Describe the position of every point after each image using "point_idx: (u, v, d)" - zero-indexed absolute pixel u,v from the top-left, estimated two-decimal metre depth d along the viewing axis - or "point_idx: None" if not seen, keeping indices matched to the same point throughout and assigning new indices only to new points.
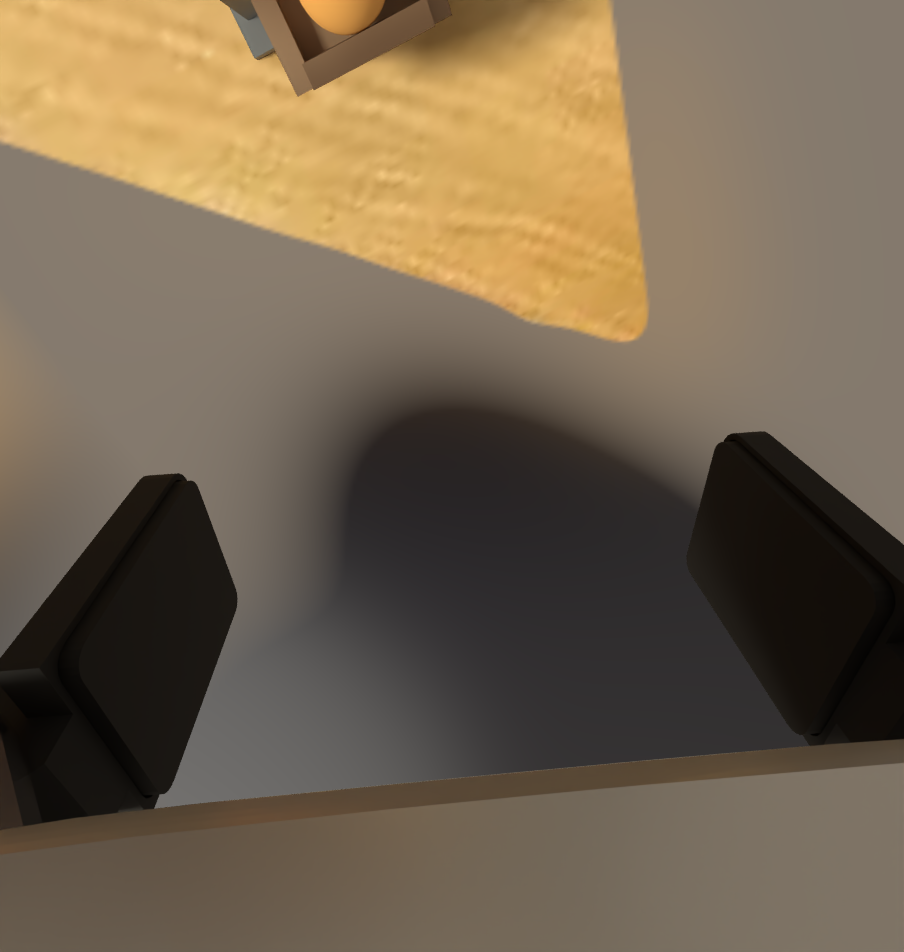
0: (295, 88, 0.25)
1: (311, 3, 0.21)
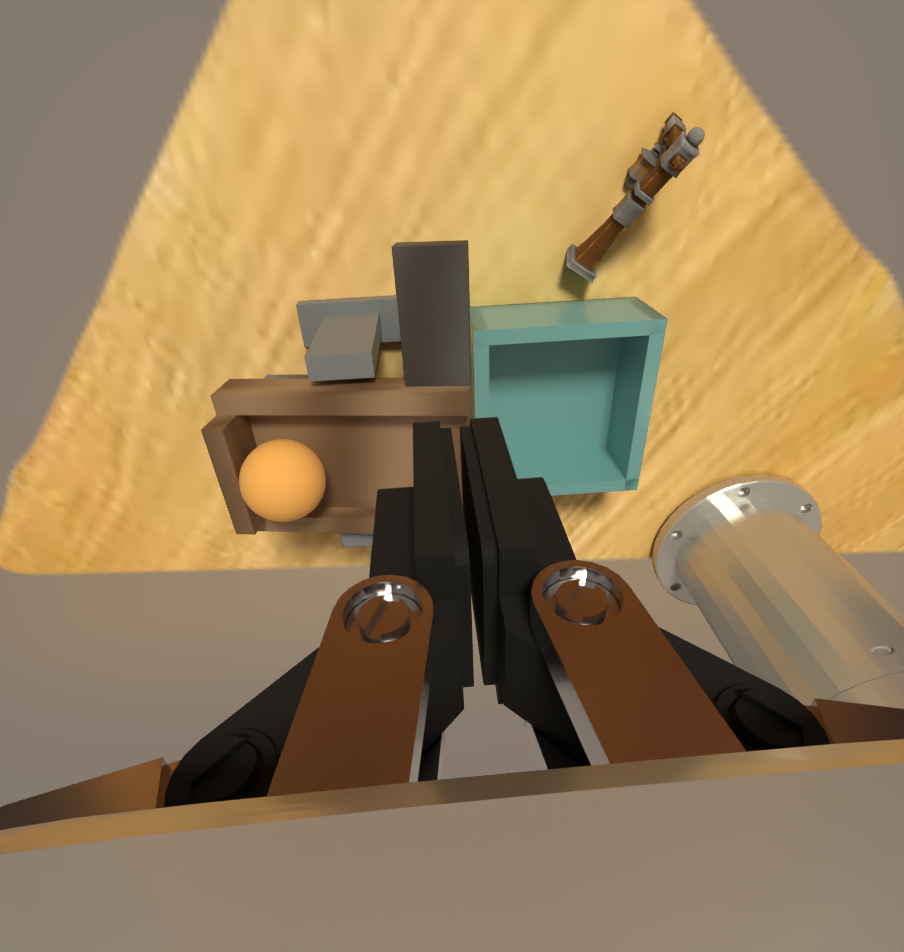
0: (217, 397, 0.24)
1: (256, 467, 0.24)
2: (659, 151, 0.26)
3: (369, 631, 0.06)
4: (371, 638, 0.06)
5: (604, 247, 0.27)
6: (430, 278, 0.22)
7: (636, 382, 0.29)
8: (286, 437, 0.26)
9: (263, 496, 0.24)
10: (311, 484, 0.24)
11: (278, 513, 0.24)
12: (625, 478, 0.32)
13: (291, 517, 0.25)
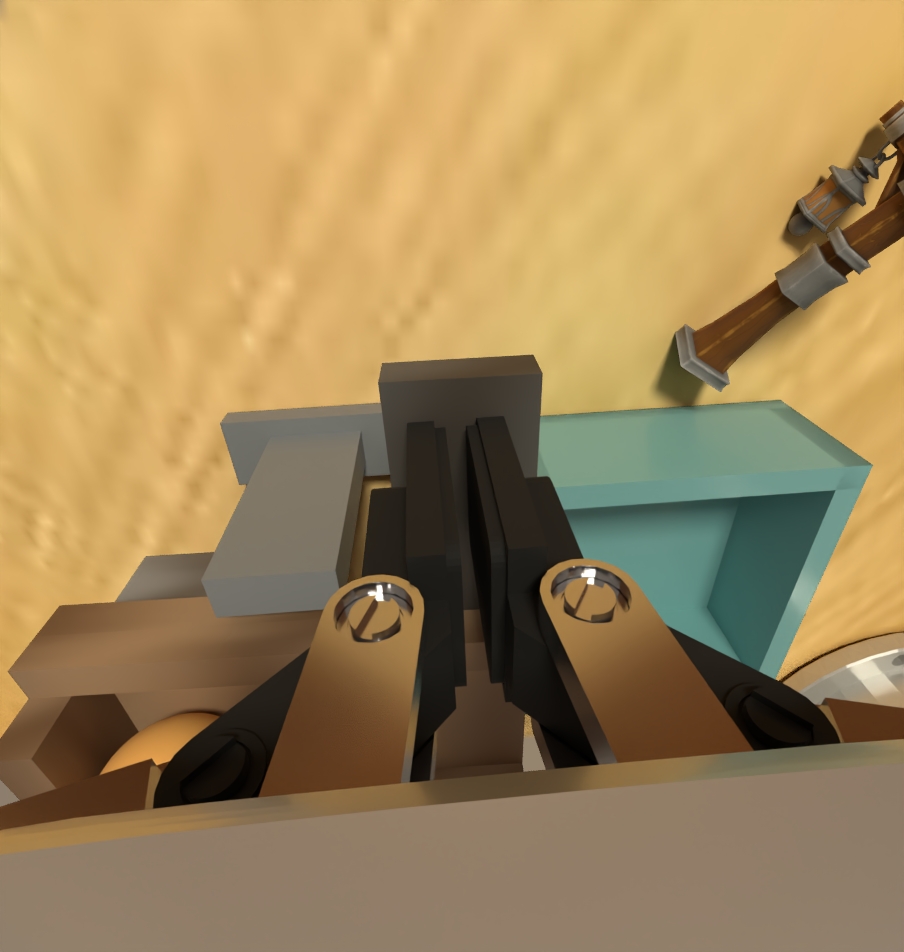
0: (22, 673, 0.12)
1: None
2: (870, 172, 0.14)
3: (360, 631, 0.06)
4: (362, 638, 0.06)
5: (752, 338, 0.16)
6: (462, 438, 0.10)
7: (791, 550, 0.18)
8: (183, 698, 0.14)
9: None
10: None
11: None
12: None
13: None
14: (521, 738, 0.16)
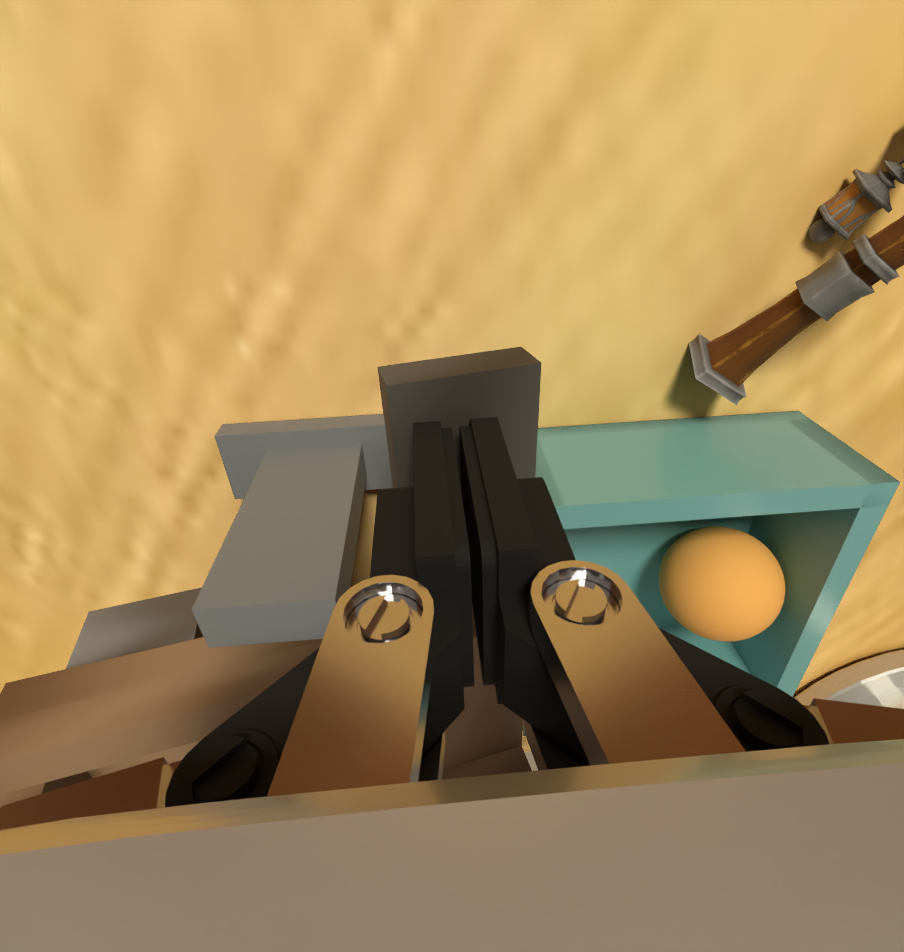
0: None
1: (753, 537, 0.18)
2: (897, 177, 0.13)
3: (370, 631, 0.06)
4: (372, 638, 0.06)
5: (770, 349, 0.15)
6: None
7: (810, 568, 0.17)
8: (170, 758, 0.13)
9: None
10: None
11: None
12: None
13: None
14: (520, 721, 0.16)
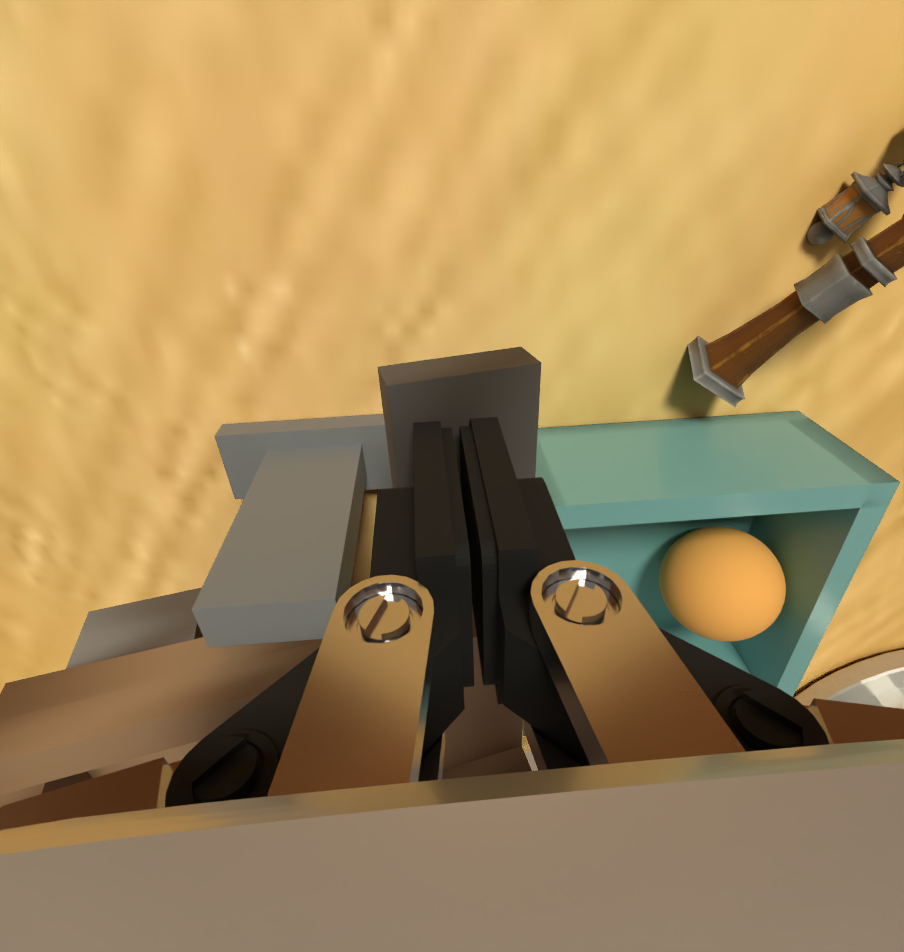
0: None
1: (753, 536, 0.18)
2: (896, 180, 0.13)
3: (370, 631, 0.06)
4: (372, 638, 0.06)
5: (769, 351, 0.15)
6: None
7: (810, 568, 0.17)
8: (170, 758, 0.13)
9: None
10: None
11: None
12: None
13: None
14: (520, 721, 0.16)
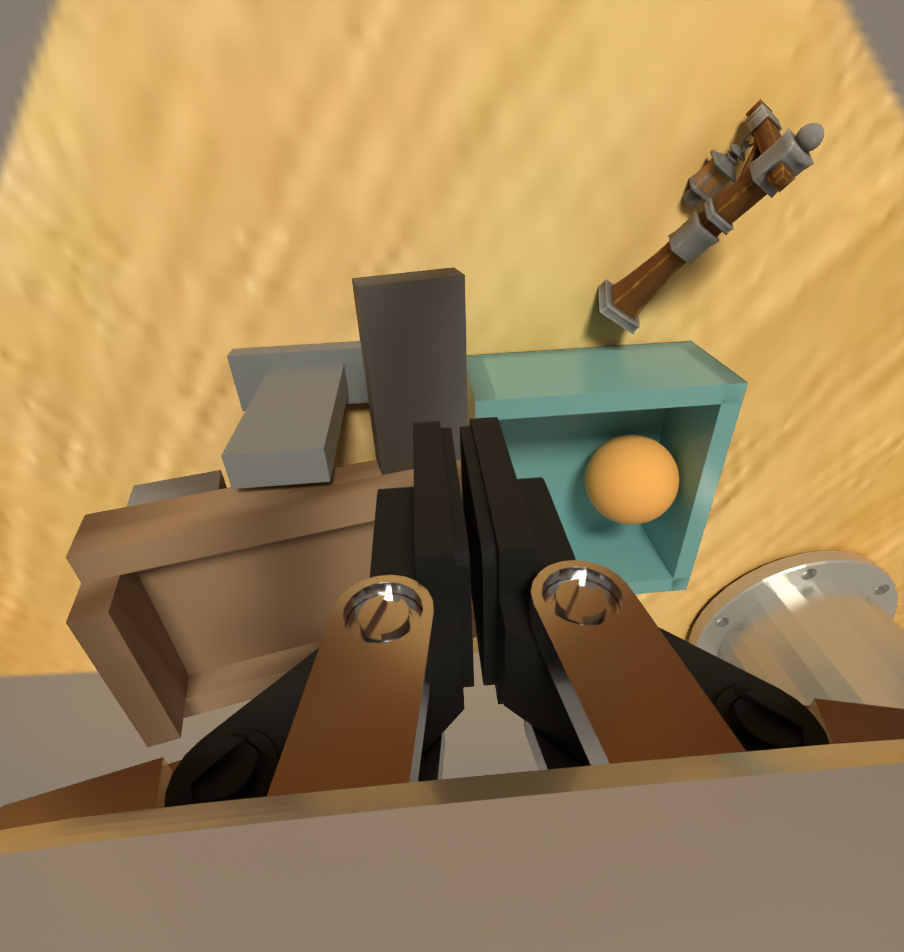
0: (79, 557, 0.15)
1: (657, 442, 0.23)
2: (738, 156, 0.18)
3: (369, 631, 0.06)
4: (371, 638, 0.06)
5: (653, 288, 0.20)
6: (415, 326, 0.15)
7: (695, 460, 0.22)
8: (202, 580, 0.17)
9: None
10: None
11: None
12: (672, 576, 0.25)
13: None
14: None
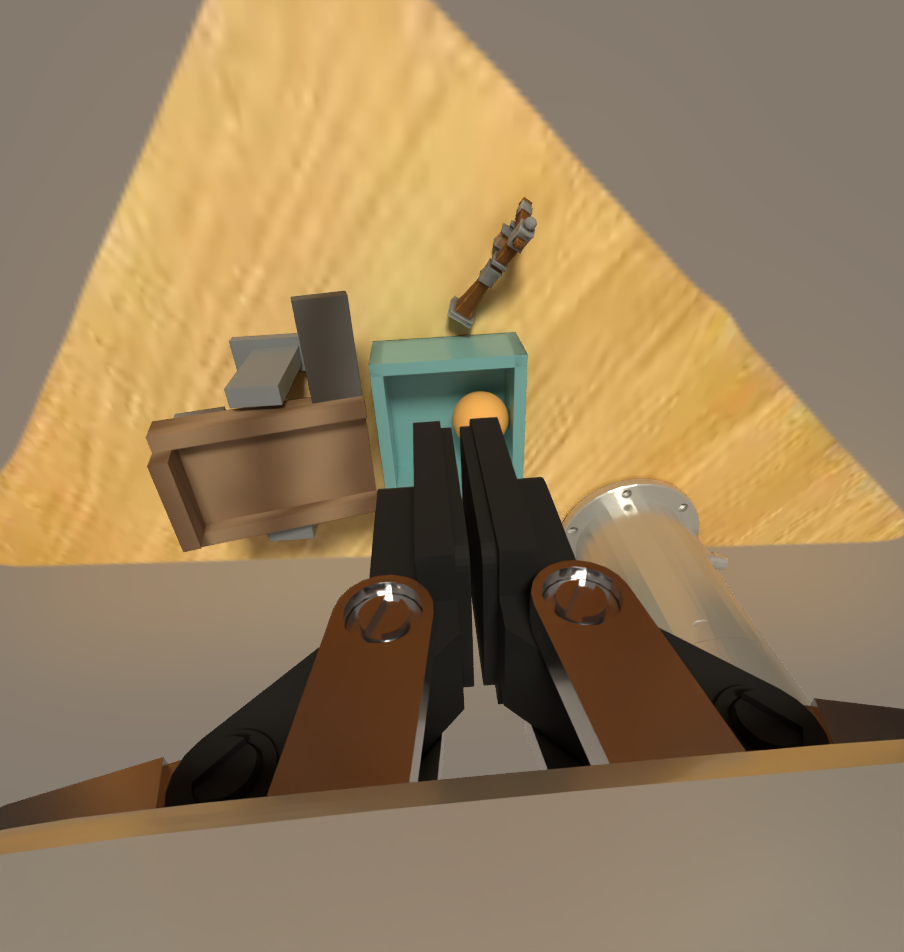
0: (152, 437, 0.29)
1: (495, 395, 0.37)
2: (514, 227, 0.32)
3: (369, 631, 0.06)
4: (371, 638, 0.06)
5: (476, 301, 0.34)
6: (323, 321, 0.29)
7: (512, 404, 0.36)
8: (213, 461, 0.31)
9: None
10: None
11: None
12: None
13: None
14: (372, 473, 0.35)
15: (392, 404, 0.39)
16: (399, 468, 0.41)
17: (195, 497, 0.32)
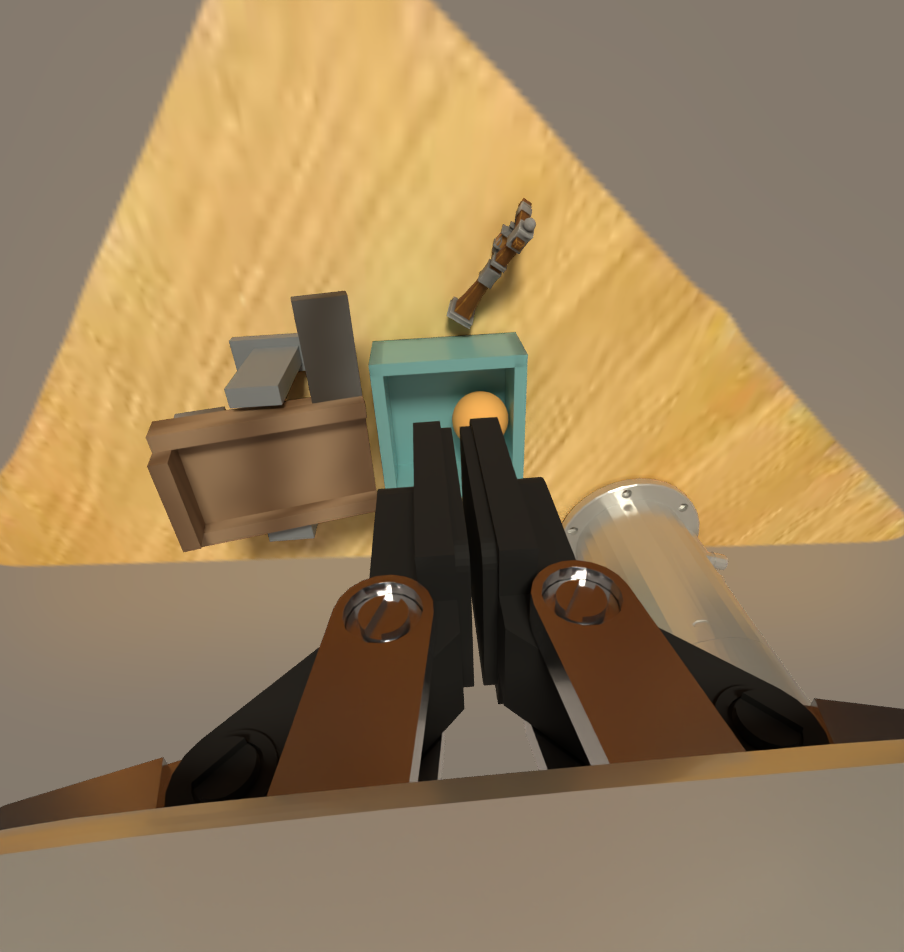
0: (152, 437, 0.29)
1: (495, 395, 0.37)
2: (514, 228, 0.32)
3: (369, 631, 0.06)
4: (371, 638, 0.06)
5: (475, 302, 0.34)
6: (323, 321, 0.29)
7: (512, 404, 0.36)
8: (213, 461, 0.31)
9: None
10: None
11: None
12: None
13: None
14: (372, 473, 0.35)
15: (392, 404, 0.39)
16: (399, 468, 0.41)
17: (195, 497, 0.32)
